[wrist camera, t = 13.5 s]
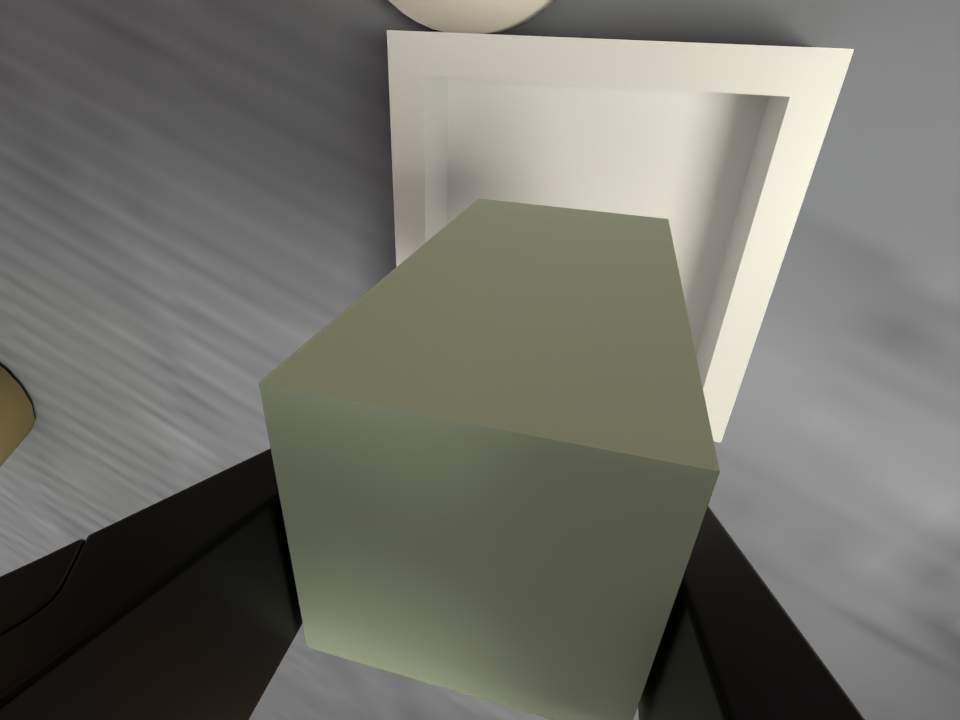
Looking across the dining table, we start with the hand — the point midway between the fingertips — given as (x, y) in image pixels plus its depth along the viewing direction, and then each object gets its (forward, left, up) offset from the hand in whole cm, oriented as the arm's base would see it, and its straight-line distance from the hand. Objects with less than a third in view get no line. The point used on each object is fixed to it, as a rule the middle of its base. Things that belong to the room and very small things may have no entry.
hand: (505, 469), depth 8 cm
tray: (0, 0, -13) cm, 13 cm away
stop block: (0, 0, -6) cm, 6 cm away
